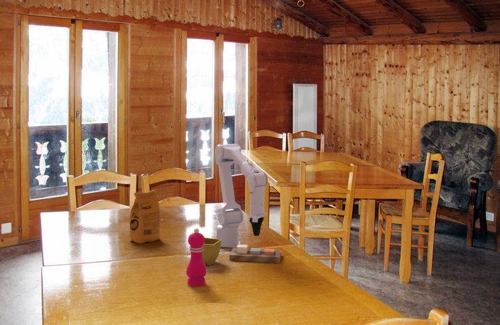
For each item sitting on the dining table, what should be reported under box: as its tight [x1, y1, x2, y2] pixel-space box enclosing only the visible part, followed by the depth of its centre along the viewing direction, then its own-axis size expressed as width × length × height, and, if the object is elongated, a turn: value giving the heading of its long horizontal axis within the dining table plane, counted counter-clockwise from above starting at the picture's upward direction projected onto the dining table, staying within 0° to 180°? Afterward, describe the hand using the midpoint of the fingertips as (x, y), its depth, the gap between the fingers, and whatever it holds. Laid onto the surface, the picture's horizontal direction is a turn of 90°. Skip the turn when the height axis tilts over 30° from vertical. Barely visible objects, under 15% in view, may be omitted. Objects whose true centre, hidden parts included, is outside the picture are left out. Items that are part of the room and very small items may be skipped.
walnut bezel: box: [228, 248, 282, 264], centre depth 245 cm, size 20×10×2 cm, turn 83°
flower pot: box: [202, 237, 221, 266], centre depth 237 cm, size 9×9×9 cm
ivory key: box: [237, 244, 249, 254], centre depth 245 cm, size 4×4×3 cm
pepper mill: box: [185, 228, 208, 287], centre depth 212 cm, size 7×7×20 cm
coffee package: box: [129, 189, 161, 244], centre depth 268 cm, size 10×12×22 cm
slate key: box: [250, 247, 262, 255], centre depth 245 cm, size 4×4×3 cm
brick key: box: [264, 248, 276, 255], centre depth 244 cm, size 4×4×3 cm
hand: (256, 235), depth 244 cm, fingers closed
